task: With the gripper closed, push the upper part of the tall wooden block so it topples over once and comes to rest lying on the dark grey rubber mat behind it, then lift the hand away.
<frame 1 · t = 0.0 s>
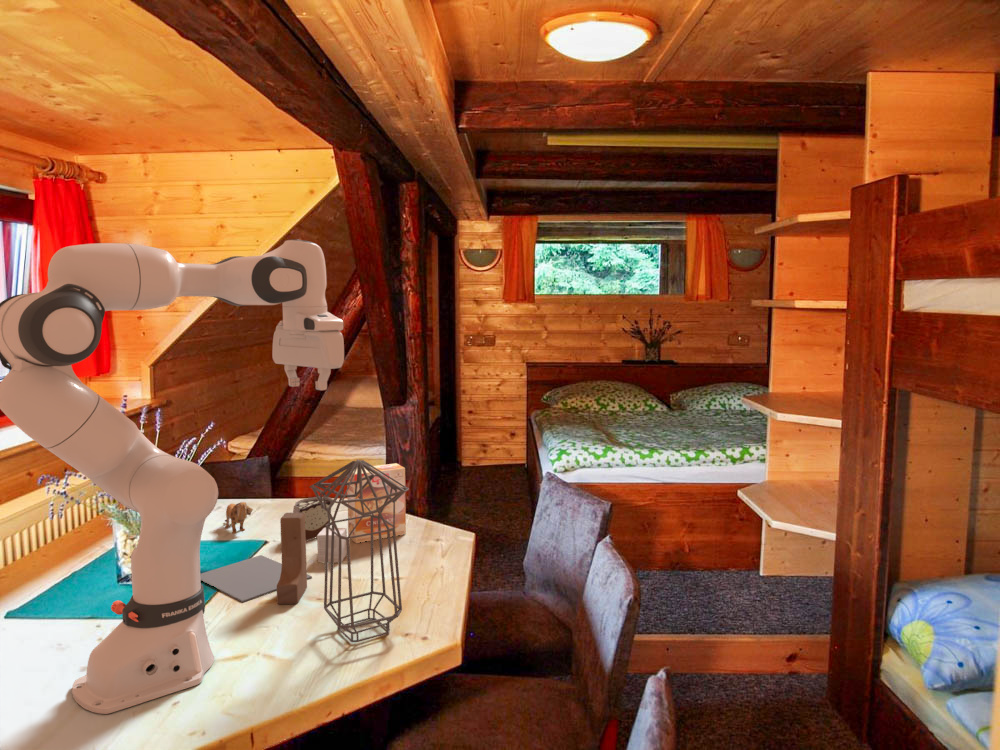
hand: (307, 388, 146), 48 cm above the table, tool pointing down, fingers open, 8 cm apart
product box: (332, 559, 182), on the table
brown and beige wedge: (309, 536, 200), on the table
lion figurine: (237, 529, 206), on the table
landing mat: (252, 577, 169), on the table
wooden block: (292, 596, 159), on the table
geometric lantern: (362, 632, 142), on the table
coffeecake box: (377, 536, 199), on the table
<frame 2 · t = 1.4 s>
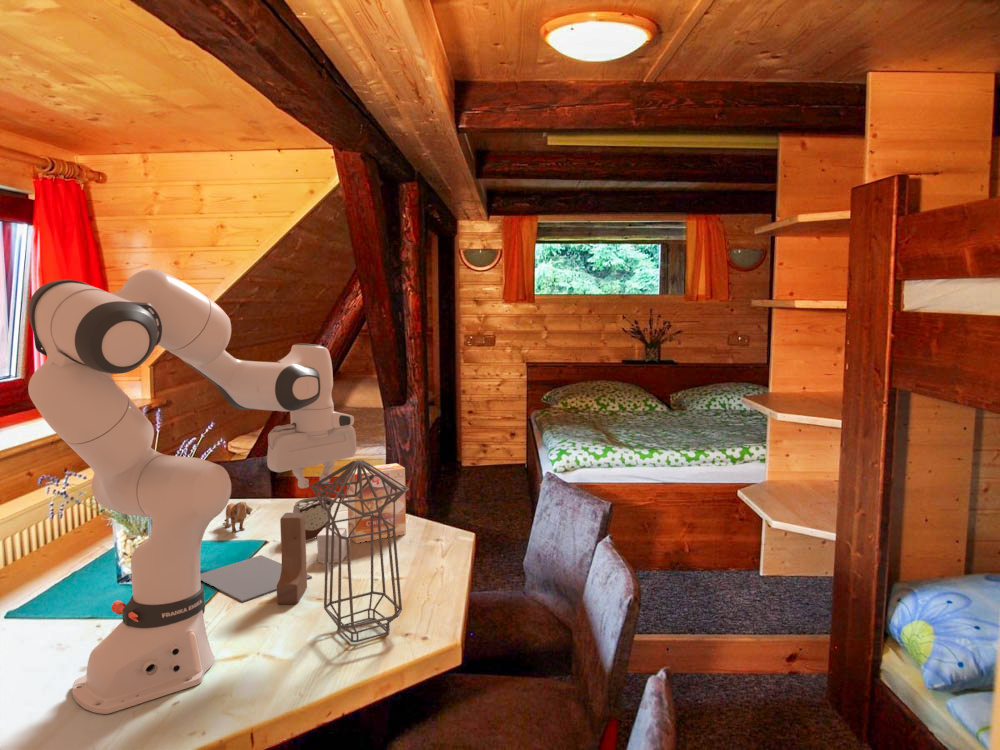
hand: (314, 485, 150), 27 cm above the table, tool pointing down, fingers open, 4 cm apart
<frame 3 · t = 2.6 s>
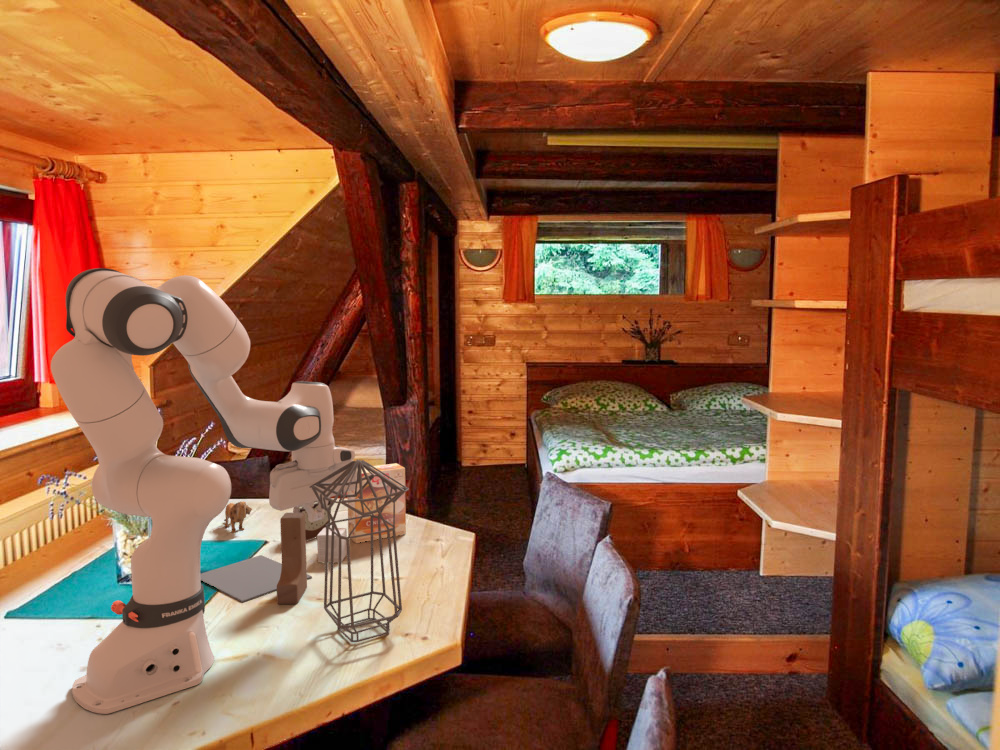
hand: (316, 519, 151), 19 cm above the table, tool pointing down, fingers closed
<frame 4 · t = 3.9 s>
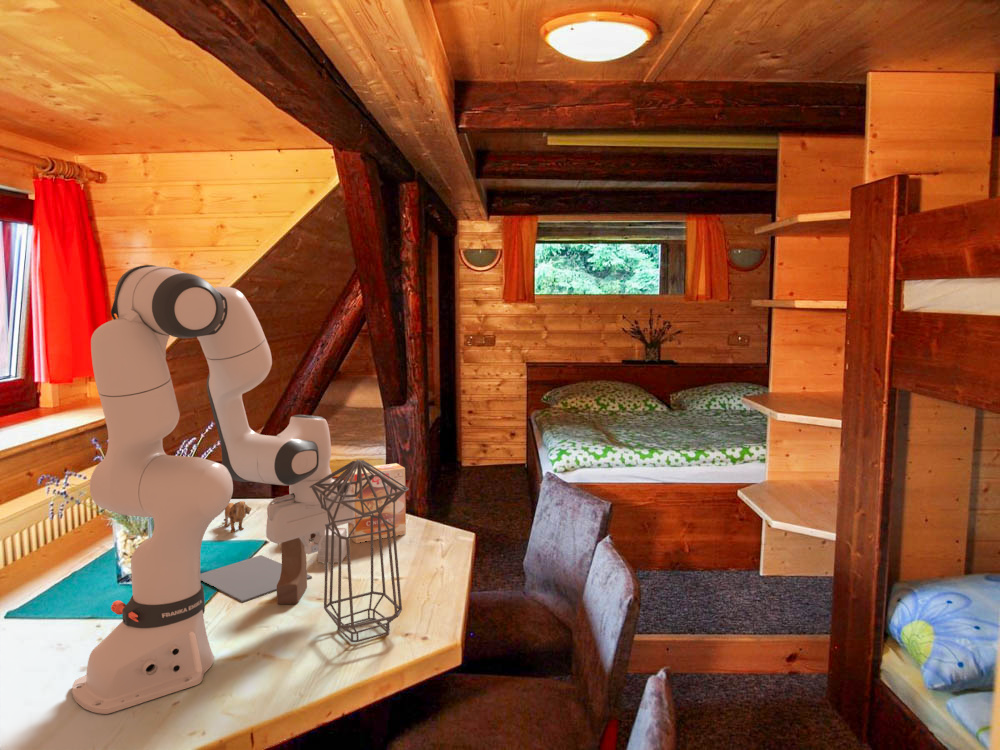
hand: (312, 552, 152), 12 cm above the table, tool pointing down, fingers closed
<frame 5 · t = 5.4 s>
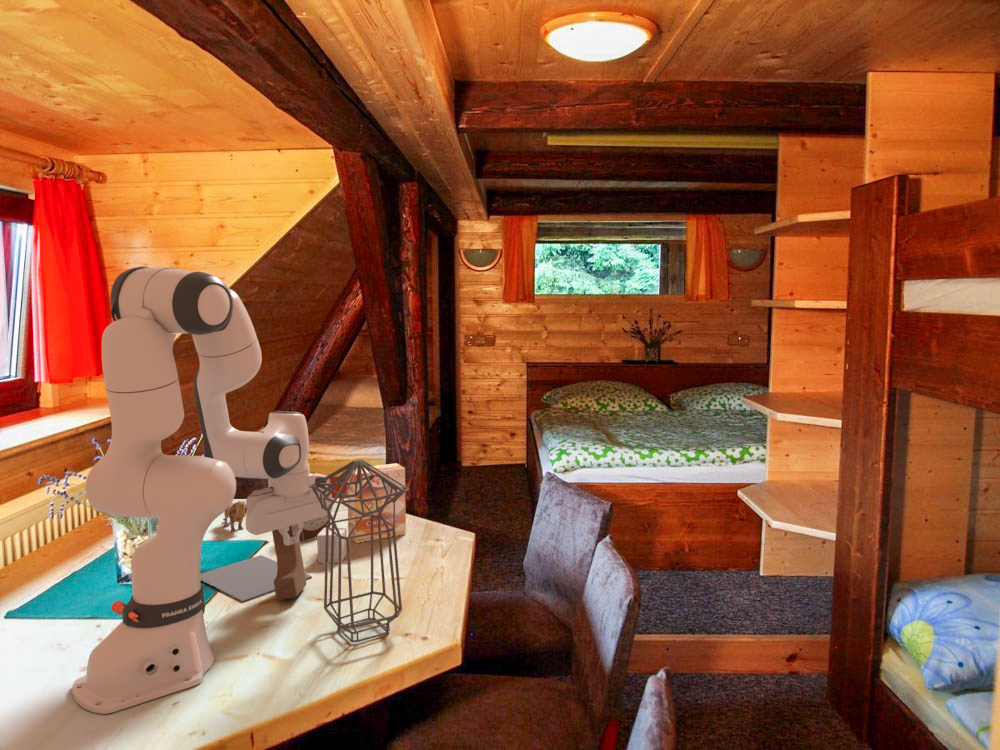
hand: (291, 543, 157), 12 cm above the table, tool pointing down, fingers closed
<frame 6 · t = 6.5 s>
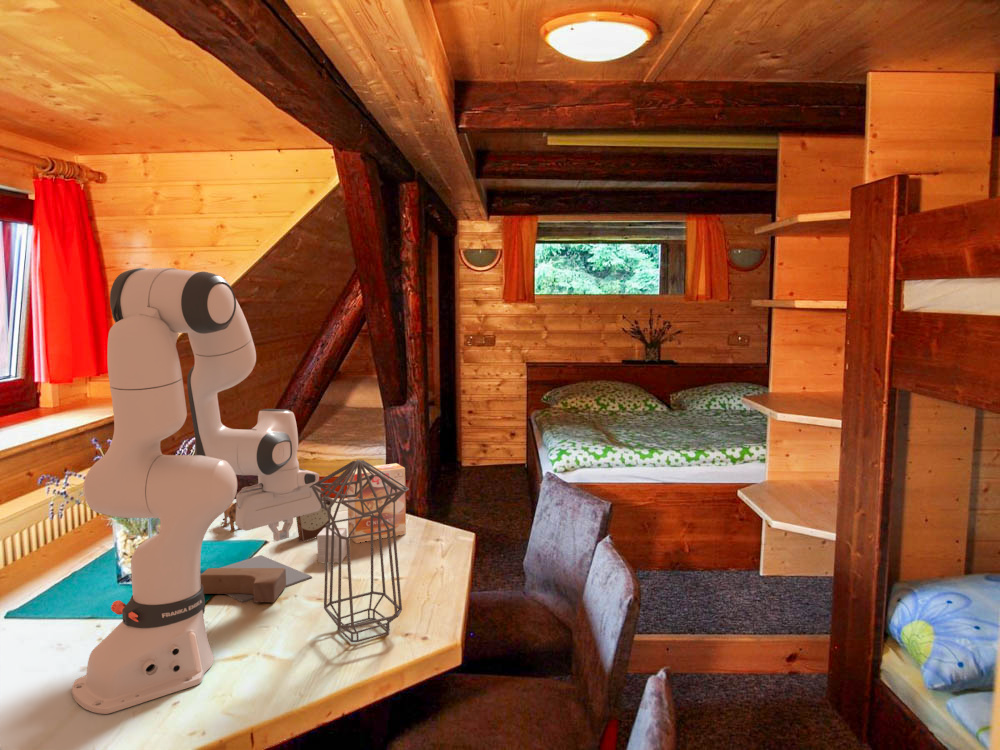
hand: (281, 539, 160), 12 cm above the table, tool pointing down, fingers closed
wooden block: (281, 584, 158), point 3 cm above the table, touching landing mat
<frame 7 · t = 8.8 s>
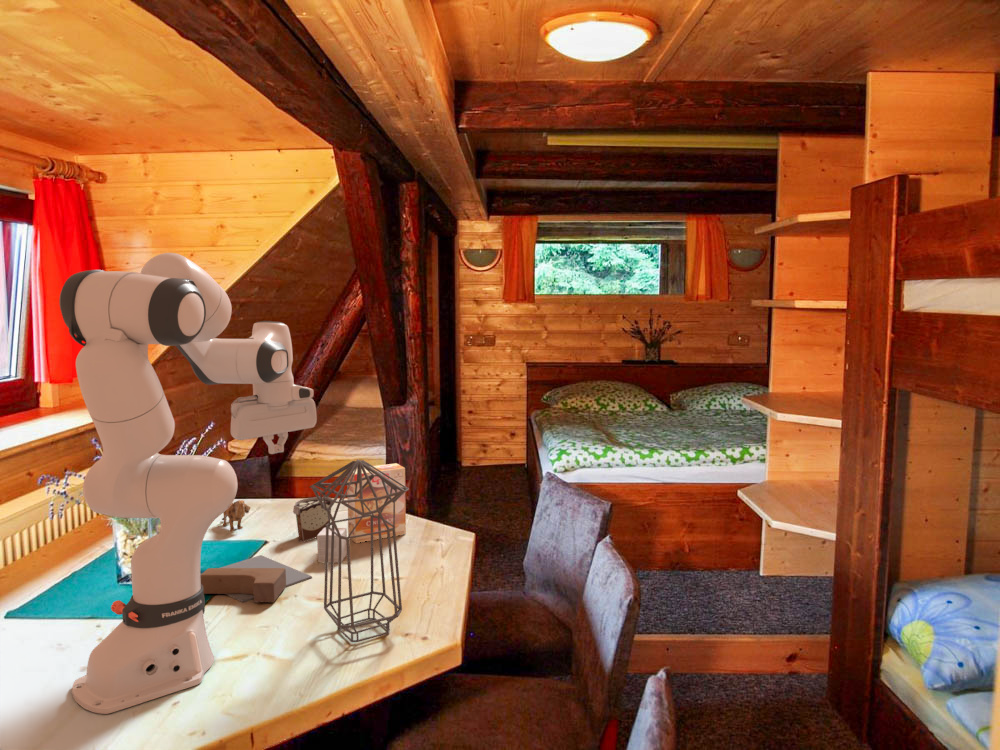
hand: (276, 452, 162), 31 cm above the table, tool pointing down, fingers closed
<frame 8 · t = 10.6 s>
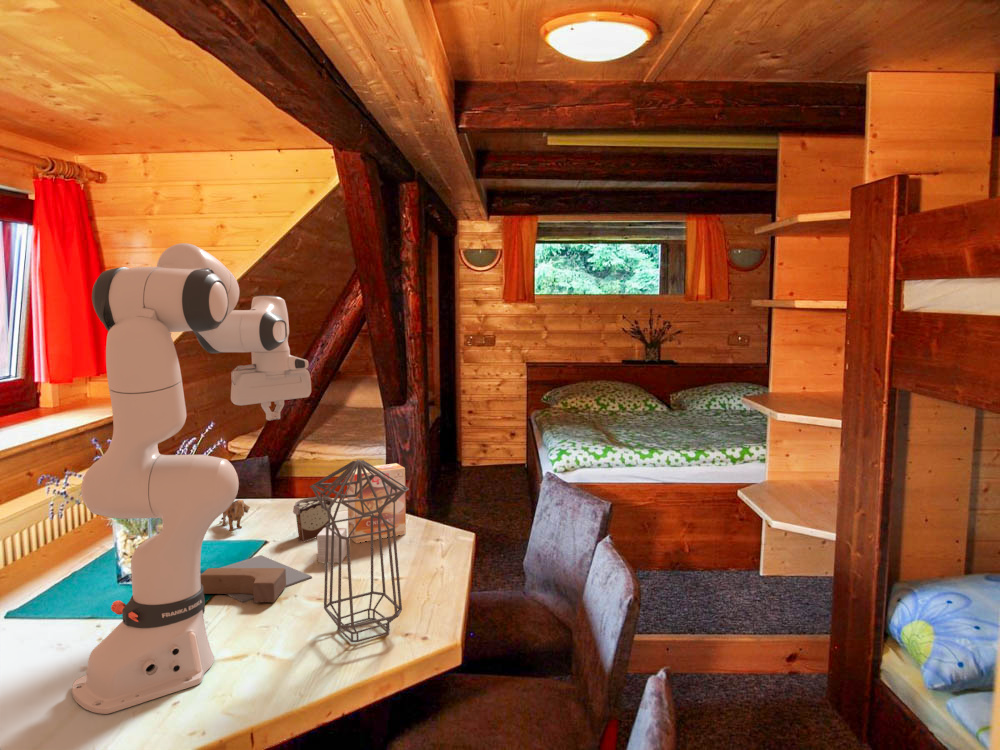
hand: (273, 419, 172), 37 cm above the table, tool pointing down, fingers closed
at the end: wooden block tilted 90°; wooden block touching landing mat; wooden block inside the target area (7.3 cm from its centre), point 2.6 cm above the table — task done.
